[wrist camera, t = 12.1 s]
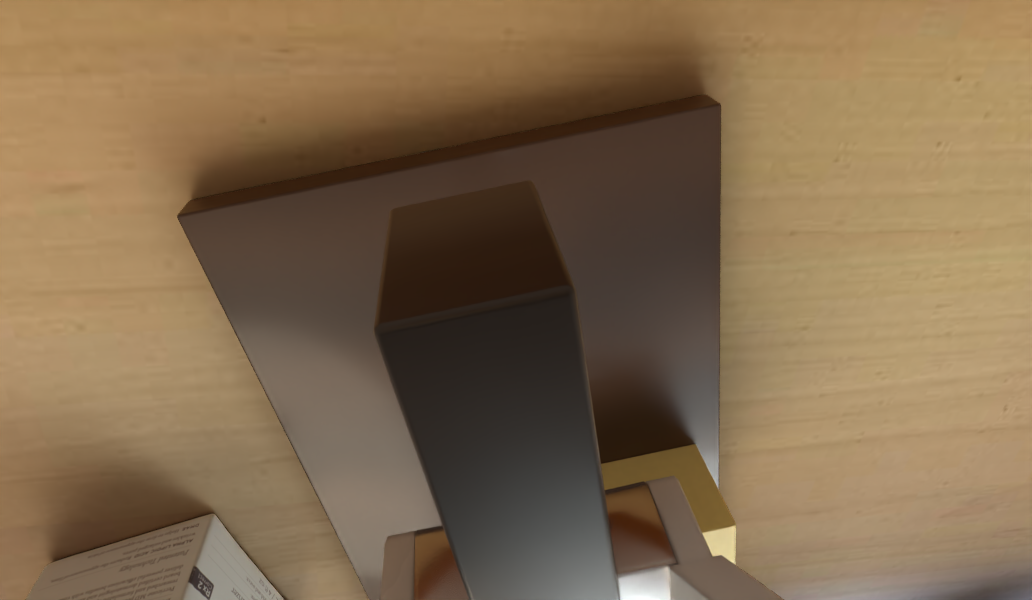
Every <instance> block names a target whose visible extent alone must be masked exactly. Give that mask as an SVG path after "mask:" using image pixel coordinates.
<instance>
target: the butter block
mask: <svg viewBox="0 0 1032 600" xmlns="http://www.w3.org/2000/svg"><path fill="white" fill-rule="evenodd" d="M601 468H602V475H603V482H604V489H605V490H608V489H612V488H616V487H621V486H625V485H630V484H634V483H638V482H643V481H644V482H646V481H650V480H655V479H660V478H664V477H669V476H675V477H676V478H677V479H678V480H679V482H680V484H681V487H682V489H683V491H684V493H685V496H686V498H687V500H688V502H689V505H690V507H691V509H692V511H693V513H694V516H695V518H696V520H697V522H698V525H699V527H700V529H701V531H702V534H703V536H704V538H705V540H706V542H707V545H708V547H709V549H710V551H711V554H712V556H719V555H722V556H724V557H725V558H727V559H728V560H729V561H731V562H732V563H734V564H735V551H736V523H735V521H734V519H733V517H732V515H731V513H730V511H729V509H728V507H727V505H726V503H725V501H724V499H723V497H722V495H721V493H720V491H719V489H718V487H717V485H716V483H715V481H714V479H713V478H712V476H711V474H710V472H709V470H708V468H707V466H706V464H705V462H704V460H703V458H702V456H701V454H700V452H699V450H698V448H697V446H696V444H693V445H688V446H683V447H679V448H674V449H669V450H664V451H660V452H655V453H650V454H645V455H641V456H636V457H631V458H627V459H622V460H617V461H612V462H608V463H603V464H601Z"/></svg>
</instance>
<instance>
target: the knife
mask: <svg viewBox="0 0 1032 600" xmlns="http://www.w3.org/2000/svg"><path fill="white" fill-rule="evenodd" d="M373 334H374V336H375V339H376V342H377V345H378V348H379V350H380V353H381V356H382V359H383V361H384V364H385V367H386V370H387V373H388V375H389V378H390V381H391V384H392V387H393V389H394V392H395V395H396V398H397V400H398V403H399V406H400V409H401V412H402V414H403V417H404V420H405V423H406V426H407V428H408V431H409V434H410V437H411V439H412V442H413V445H414V448H415V451H416V453H417V456H418V459H419V462H420V464H421V467H422V470H423V473H424V476H425V478H426V481H427V484H428V487H429V490H430V492H431V495H432V498H433V501H434V503H435V506H436V509H437V512H438V515H439V517H440V520H441V523H442V526H443V529H444V531H445V534H446V537H447V540H448V542H449V545H450V548H451V551H452V554H453V556H454V559H455V562H456V565H457V567H458V570H459V573H460V576H461V579H462V581H463V584H464V587H465V590H466V593H467V595H468V598H469V600H620V594H619V587H618V580H617V573H616V566H615V559H614V552H613V545H612V538H611V531H610V524H609V517H608V510H607V503H606V496H605V489H604V482H603V475H602V468H601V461H600V454H599V447H598V440H597V433H596V426H595V419H594V412H593V405H592V398H591V391H590V384H589V377H588V370H587V363H586V356H585V349H584V342H583V335H582V328H581V321H580V314H579V307H578V300H577V293H576V289H575V286H574V284H573V281H572V279H571V276H570V273H569V271H568V268H567V266H566V263H565V261H564V258H563V256H562V253H561V250H560V248H559V245H558V243H557V240H556V238H555V235H554V233H553V230H552V228H551V225H550V222H549V220H548V217H547V215H546V212H545V210H544V207H543V205H542V202H541V199H540V197H539V194H538V192H537V189H536V187H535V185H534V183H533V182H532V181H528V180H527V181H522V182H517V183H512V184H508V185H503V186H498V187H493V188H488V189H484V190H479V191H474V192H469V193H464V194H460V195H455V196H450V197H445V198H440V199H436V200H431V201H426V202H421V203H416V204H412V205H407V206H402V207H397V208H394V209H392V210H391V211H390V214H389V221H388V229H387V236H386V243H385V250H384V258H383V265H382V272H381V279H380V286H379V294H378V301H377V308H376V315H375V323H374V330H373Z"/></svg>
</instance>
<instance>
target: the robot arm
mask: <svg viewBox="0 0 1032 600" xmlns="http://www.w3.org/2000/svg"><path fill="white" fill-rule="evenodd" d="M605 496H606V503H607V510H608V517H609V524H610V531H611V538H612V545H613V552H614V559H615V566H616V573H617V580H618V587H619V594H620V600H784V599H782V598H781V597H780V596H778V595H777V594H775V593H774V592H773V591H771V590H770V589H768V588H767V587H766V586H764V585H763V584H761V583H760V582H759V581H757V580H756V579H755V578H753V577H752V576H750V575H749V574H748V573H746V572H745V571H743V570H742V569H741V568H739V567H738V566H736V565H735V564H734V563H732V562H731V561H729V560H728V559H727V558H725V557H724V556H722V555H719V556H712V554H711V551H710V549H709V547H708V545H707V542H706V540H705V538H704V536H703V534H702V531H701V529H700V527H699V525H698V522H697V520H696V518H695V516H694V513H693V511H692V509H691V507H690V505H689V502H688V500H687V498H686V496H685V493H684V491H683V489H682V487H681V484H680V482H679V480H678V479H677V478H676V477H675V476H669V477H664V478H660V479H655V480H650V481H646V482H644V481H643V482H638V483H634V484H630V485H625V486H621V487H616V488H612V489H608V490H605ZM380 600H469V598H468V595H467V593H466V590H465V587H464V584H463V581H462V579H461V576H460V573H459V570H458V567H457V565H456V562H455V559H454V556H453V554H452V551H451V548H450V545H449V542H448V540H447V537H446V534H445V531H444V529H443V526H436V527H431V528H425V529H420V530H416V531H411V532H406V533H401V534H396V535H391V536H388V537H387V539H386V542H385V545H384V556H383V569H382V582H381V596H380Z"/></svg>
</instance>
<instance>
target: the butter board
mask: <svg viewBox="0 0 1032 600" xmlns="http://www.w3.org/2000/svg"><path fill="white" fill-rule="evenodd" d="M527 180H528V181H532V182H533V183H534V185H535V187H536V189H537V192H538V194H539V197H540V199H541V202H542V205H543V207H544V210H545V212H546V215H547V217H548V220H549V222H550V225H551V228H552V230H553V233H554V235H555V238H556V240H557V243H558V245H559V248H560V250H561V253H562V256H563V258H564V261H565V263H566V266H567V268H568V271H569V273H570V276H571V279H572V281H573V284H574V286H575V289H576V293H577V300H578V307H579V314H580V321H581V328H582V335H583V342H584V349H585V356H586V363H587V370H588V377H589V384H590V391H591V398H592V405H593V412H594V419H595V426H596V433H597V440H598V447H599V454H600V461H601V464H603V463H608V462H612V461H617V460H622V459H627V458H631V457H636V456H641V455H645V454H650V453H655V452H660V451H664V450H669V449H674V448H679V447H683V446H688V445H693V444H696V446H697V448H698V450H699V452H700V454H701V456H702V458H703V460H704V462H705V464H706V466H707V468H708V470H709V472H710V474H711V476H712V478H713V479H714V481H715V483H716V485H717V487H718V489H719V382H720V195H721V104H720V103H719V102H717V101H715V100H714V99H712V98H711V97H709V96H708V95H700V96H695V97H690V98H685V99H680V100H675V101H671V102H666V103H661V104H656V105H651V106H646V107H641V108H637V109H632V110H627V111H622V112H617V113H612V114H607V115H602V116H598V117H593V118H588V119H583V120H578V121H573V122H568V123H564V124H559V125H554V126H549V127H544V128H539V129H534V130H530V131H525V132H520V133H515V134H510V135H505V136H500V137H495V138H491V139H486V140H481V141H476V142H471V143H466V144H461V145H457V146H452V147H447V148H442V149H437V150H432V151H427V152H423V153H418V154H413V155H408V156H403V157H398V158H393V159H388V160H384V161H379V162H374V163H369V164H364V165H359V166H354V167H350V168H345V169H340V170H335V171H330V172H325V173H320V174H315V175H311V176H306V177H301V178H296V179H291V180H286V181H281V182H277V183H272V184H267V185H262V186H257V187H252V188H247V189H243V190H238V191H233V192H228V193H223V194H218V195H213V196H208V197H204V198H199V199H194V200H190V201H189V202H188V203H187V204H186V205H185V207H184V208H183V209H182V210H181V211H180V213H179V214H178V215H177V218H178V220H179V222H180V224H181V226H182V228H183V230H184V232H185V234H186V236H187V238H188V240H189V242H190V244H191V246H192V248H193V250H194V252H195V254H196V256H197V258H198V260H199V262H200V264H201V266H202V268H203V270H204V272H205V274H206V276H207V278H208V280H209V282H210V284H211V286H212V288H213V290H214V292H215V294H216V296H217V298H218V299H219V301H220V303H221V305H222V307H223V309H224V311H225V313H226V315H227V317H228V319H229V321H230V323H231V325H232V327H233V329H234V331H235V333H236V335H237V337H238V339H239V341H240V343H241V345H242V347H243V349H244V351H245V353H246V355H247V357H248V359H249V361H250V363H251V365H252V367H253V369H254V371H255V373H256V375H257V377H258V379H259V381H260V383H261V385H262V387H263V389H264V391H265V393H266V395H267V397H268V399H269V401H270V403H271V405H272V407H273V409H274V411H275V413H276V415H277V417H278V419H279V421H280V423H281V425H282V427H283V429H284V431H285V433H286V435H287V437H288V439H289V441H290V443H291V445H292V447H293V449H294V451H295V453H296V455H297V457H298V459H299V461H300V463H301V465H302V467H303V469H304V471H305V473H306V475H307V477H308V478H309V480H310V482H311V484H312V486H313V488H314V490H315V492H316V494H317V496H318V498H319V500H320V502H321V504H322V506H323V508H324V510H325V512H326V514H327V516H328V518H329V520H330V522H331V524H332V526H333V528H334V530H335V532H336V534H337V536H338V538H339V540H340V542H341V544H342V546H343V548H344V550H345V552H346V554H347V556H348V558H349V560H350V562H351V564H352V566H353V568H354V570H355V572H356V574H357V576H358V578H359V580H360V582H361V584H362V586H363V588H364V590H365V592H366V594H367V596H368V598H369V600H380V596H381V582H382V569H383V556H384V545H385V542H386V539H387V537H388V536H391V535H396V534H401V533H406V532H411V531H416V530H420V529H425V528H431V527H436V526H442V523H441V520H440V517H439V515H438V512H437V509H436V506H435V503H434V501H433V498H432V495H431V492H430V490H429V487H428V484H427V481H426V478H425V476H424V473H423V470H422V467H421V464H420V462H419V459H418V456H417V453H416V451H415V448H414V445H413V442H412V439H411V437H410V434H409V431H408V428H407V426H406V423H405V420H404V417H403V414H402V412H401V409H400V406H399V403H398V400H397V398H396V395H395V392H394V389H393V387H392V384H391V381H390V378H389V375H388V373H387V370H386V367H385V364H384V361H383V359H382V356H381V353H380V350H379V348H378V345H377V342H376V339H375V336H374V334H373V330H374V323H375V315H376V308H377V301H378V294H379V286H380V279H381V272H382V265H383V258H384V250H385V243H386V236H387V229H388V221H389V214H390V211H391V210H392V209H394V208H397V207H402V206H407V205H412V204H416V203H421V202H426V201H431V200H436V199H440V198H445V197H450V196H455V195H460V194H464V193H469V192H474V191H479V190H484V189H488V188H493V187H498V186H503V185H508V184H512V183H517V182H522V181H527Z"/></svg>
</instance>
